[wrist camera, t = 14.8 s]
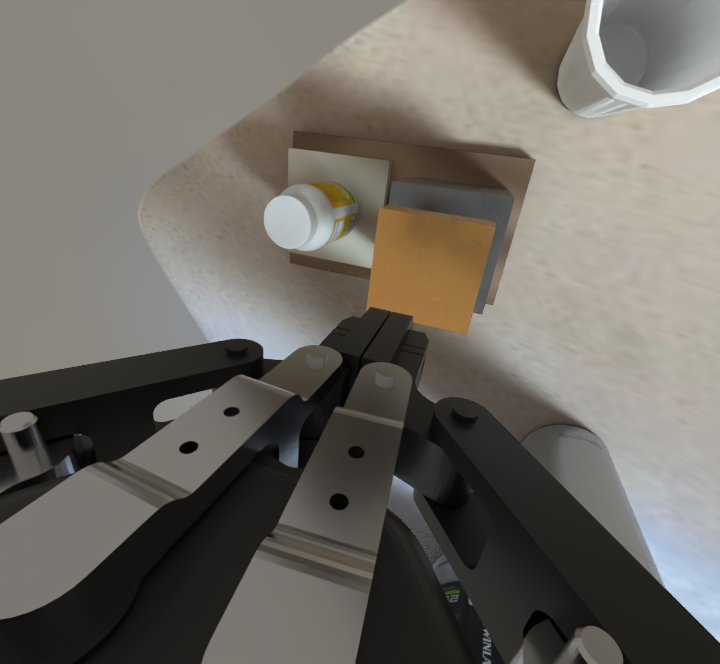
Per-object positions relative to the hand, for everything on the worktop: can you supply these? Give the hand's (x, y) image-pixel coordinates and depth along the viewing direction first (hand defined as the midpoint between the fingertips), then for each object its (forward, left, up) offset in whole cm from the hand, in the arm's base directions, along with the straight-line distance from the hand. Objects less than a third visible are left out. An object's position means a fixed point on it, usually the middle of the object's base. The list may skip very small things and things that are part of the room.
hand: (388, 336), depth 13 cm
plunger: (0, 0, -20) cm, 20 cm away
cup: (+13, -8, -27) cm, 31 cm away
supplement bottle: (0, +11, -24) cm, 27 cm away
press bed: (0, +6, -26) cm, 27 cm away
